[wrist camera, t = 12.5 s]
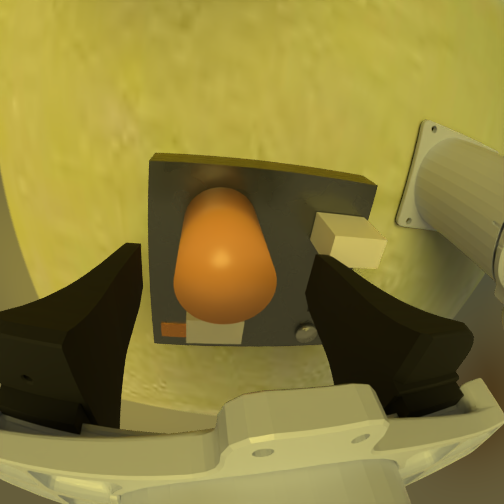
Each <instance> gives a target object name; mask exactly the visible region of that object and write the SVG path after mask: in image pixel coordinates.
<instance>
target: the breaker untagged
mask: <svg viewBox="0 0 504 504" xmlns="http://www.w3.org/2000/svg"><path fill="white" fill-rule="evenodd" d="M310 240H311V242H312V244H313V245H314V247H315V249H316V250H317V252H318V253H319V254H324V255H330V256H332V257H334V258H335V259H337V260H338V261H340V262H341V263H343V264H344V265H346V266H347V267H348V268H370V269H377V268H378V266H379V263H380V260H381V258H382V255H383V252H384V249H385V246H386V243H387V241H388V240H387V239H386V238H385V237H384V236H383V235H382V234H381V233H380V232H379V231H378V230H377V229H376V228H375V227H374V226H373V225H372V224H371V223H370V222H368V221H367V220H366V219H365V218H364V217H357V216H349V215H340V214H331V213H322V212H317V213H316V217H315V221H314V225H313V230H312V234H311V238H310Z"/></svg>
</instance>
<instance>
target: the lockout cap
mask: <svg viewBox="0 0 504 504" xmlns="http://www.w3.org/2000/svg"><path fill="white" fill-rule="evenodd" d="M276 285H277V277H276V272H275V268H274V265H273V262H272V260H271V257H270V254H269V251H268V248H267V245H266V242H265V239H264V236H263V233H262V230H261V227H260V224H259V221H258V218H257V215H256V212H255V209H254V207H253V205H252V203H251V202H250V201H249V199H248V198H247V197H246V196H244V195H243V194H242V193H240V192H238V191H236V190H234V189H231V188H225V187H217V188H211V189H208V190H205V191H203V192H201V193H200V194H198V195H197V196H196V197H195V198H194V199H193V200H192V201H191V202H190V203H189V205H188V207H187V209H186V212H185V216H184V221H183V227H182V232H181V238H180V244H179V250H178V256H177V262H176V268H175V274H174V292H175V295H176V298H177V299H178V301H179V303H180V304H181V306H182V307H183V308H184V309H185V310H186V311H187V312H188V313H190V314H191V315H192V316H194V317H196V318H198V319H200V320H202V321H205V322H209V323H213V324H234V323H239V322H242V321H245V320H248V319H250V318H252V317H254V316H255V315H257V314H258V313H260V312H261V311H262V310H263V309H264V308H265V307H266V306H267V305H268V304H269V302H270V301H271V299H272V298H273V296H274V293H275V290H276Z"/></svg>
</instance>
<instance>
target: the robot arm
mask: <svg viewBox="0 0 504 504" xmlns="http://www.w3.org/2000/svg"><path fill="white" fill-rule="evenodd" d="M432 127H434V130H433V131H432ZM408 218H409V220H408V221H407V222H406V220H407V219H408ZM396 222H397V224H398V225H400V226H403V227H411V228H418V229H426V230H433V231H438V232H439V233H440V234H442V235H443V236H444V237H445V238H447V239H448V240H449V241H450V242H451V243H452V244H454V245H455V246H456V247H457V248H458V249H460V250H461V251H462V252H463V253H464V254H465V255H466V256H468V257H469V258H470V259H471V260H472V261H473V262H474V263H475V264H477V265H478V266H479V267H480V268H481V269H482V270H483V271H484V272H485V273H486V274H487V275H488V276H490V277H491V278H492V279H493V280H494V281H495V282H496V288H495V292H494V296H495V297H496V298H497V299H498V300H499V301H500V302H501V303H502V304H503V305H504V156H502V155H500V154H499V153H498V152H497V151H496V150H494V149H492V148H490V147H488V146H486V145H484V144H482V143H480V142H478V141H476V140H474V139H472V138H470V137H467V136H465V135H463V134H461V133H459V132H456V131H454V130H452V129H450V128H447V127H445V126H443V125H440V124H438V123H435V122H433V121H430V120H424V121H423V122H422V124H421V127H420V132H419V136H418V141H417V145H416V149H415V153H414V157H413V161H412V165H411V169H410V173H409V176H408V180H407V183H406V187H405V190H404V194H403V197H402V201H401V204H400V207H399V210H398V214H397V217H396ZM142 289H143V279H142V261H141V244H138V243H125V244H124V245H123V246H121V247H120V248H119V249H118V250H117V251H115V252H114V253H113V254H112V255H110V256H109V257H108V258H107V259H106V260H104V261H103V262H102V263H101V264H99V265H98V266H97V267H95V268H94V269H92V270H91V271H90V272H88V273H87V274H86V275H84V276H83V277H81V278H80V279H78V280H77V281H75V282H73V283H72V284H70V285H68V286H67V287H65V288H63V289H61V290H59V291H57V292H55V293H53V294H51V295H49V296H46V297H44V298H42V299H39V300H37V301H34V302H31V303H29V304H26V305H23V306H20V307H16V308H12V309H8V310H4V311H1V312H0V383H1V387H0V479H1V480H4V481H6V482H8V483H11V484H13V485H15V486H17V487H20V488H22V489H25V490H27V491H30V492H32V493H35V494H37V495H40V496H43V497H45V498H48V499H51V500H54V501H57V502H60V503H62V504H411V502H410V499H409V496H408V494H407V491H406V489H405V486H406V485H408V484H411V483H413V482H415V481H417V480H419V479H422V478H424V477H425V476H428V475H430V474H432V473H434V472H436V471H438V470H440V469H441V468H443V467H445V466H447V465H449V464H451V463H453V462H455V461H457V460H458V459H460V458H462V457H464V456H466V455H468V454H470V453H471V452H473V451H474V450H475V449H476V448H477V447H478V446H480V445H481V444H482V443H483V442H484V441H485V440H486V439H488V438H489V437H490V436H491V435H492V434H493V433H494V432H495V431H496V430H497V429H499V428H500V427H501V426H502V425H503V424H504V413H503V412H502V410H501V408H500V407H499V405H498V403H497V402H496V400H495V399H494V397H493V396H492V394H491V393H490V391H489V390H488V388H487V386H486V385H485V383H484V382H483V380H482V379H481V378H478V379H475V380H472V381H469V382H466V383H464V384H463V385H461V386H460V387H459V386H458V385H457V383H456V381H457V380H458V379H459V376H458V374H457V373H456V370H457V369H458V367H459V366H460V364H461V363H462V362H463V360H464V359H465V358H466V356H467V355H468V353H469V351H470V350H471V347H472V345H473V340H474V339H473V338H474V336H473V334H472V332H471V331H470V330H469V329H468V327H467V326H466V325H465V324H464V323H462V322H458V321H455V320H451V319H447V318H443V317H440V316H437V315H434V314H431V313H428V312H425V311H423V310H420V309H418V308H415V307H413V306H411V305H409V304H406V303H404V302H402V301H400V300H398V299H397V298H395V297H393V296H391V295H389V294H387V293H386V292H384V291H382V290H381V289H379V288H378V287H376V286H374V285H373V284H371V283H370V282H368V281H367V280H365V279H364V278H363V277H361V276H360V275H358V274H357V273H355V272H354V271H353V270H351V269H350V268H348V267H347V266H346V265H344V264H343V263H341V262H340V261H338V260H337V259H335V258H334V257H332V256H330V255H324V254H316V255H315V258H314V262H313V266H312V269H311V273H310V277H309V280H308V284H307V287H306V291H305V296H306V300H307V305H308V309H309V312H310V315H311V318H312V320H313V323H314V325H315V328H316V330H317V332H318V335H319V337H320V340H321V342H322V345H323V347H324V350H325V352H326V355H327V358H328V361H329V365H330V369H331V373H332V377H333V381H334V385H332V386H322V387H311V388H299V389H283V390H264V391H258V392H252V393H246V394H242V395H240V396H238V397H236V398H234V399H232V400H230V401H228V402H227V403H225V404H224V406H223V407H222V409H221V410H220V412H219V413H218V414H217V423H216V427H215V428H212V429H205V430H198V431H190V432H182V433H171V434H166V433H152V432H142V431H132V430H123V429H120V408H121V394H122V383H123V374H124V366H125V359H126V354H127V349H128V345H129V342H130V338H131V335H132V331H133V328H134V324H135V321H136V317H137V314H138V310H139V307H140V301H141V295H142ZM501 321H502V326H503V329H504V307H503V310H502V316H501Z"/></svg>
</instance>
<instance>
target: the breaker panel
mask: <svg viewBox="0 0 504 504" xmlns="http://www.w3.org/2000/svg"><path fill="white" fill-rule="evenodd" d="M217 187H225V188H231V189H234V190H236V191H238V192H240V193H242V194H243V195H244V196H246V197H247V198H248V199H249V201H250V202H251V203H252V205H253V207H254V209H255V212H256V215H257V218H258V221H259V224H260V227H261V230H262V233H263V236H264V239H265V242H266V245H267V248H268V251H269V254H270V257H271V260H272V262H273V265H274V268H275V272H276V277H277V285H276V290H275V293H274V296H273V298H272V299H271V301H270V302H269V304H268V305H267V306H266V307H265V308H264V309H263V310H262V311H261V312H260V313H258V314H257V315H255V316H254V317H252V318H250V319H248V320H245V321H244V328H243V334H242V340H241V344H204V343H186V315H187V311H186V310H185V309H184V308H183V307H182V306H181V304H180V303H179V301H178V299H177V298H176V295H175V292H174V274H175V268H176V262H177V256H178V250H179V244H180V238H181V232H182V227H183V221H184V216H185V212H186V209H187V207H188V205H189V203H190V202H191V201H192V200H193V199H194V198H195V197H196V196H197V195H198V194H200V193H201V192H203V191H205V190H208V189H211V188H217ZM376 190H377V185H376V184H375V183H373V182H372V181H370V180H369V179H367V178H366V177H364V176H361V175H356V174H350V173H344V172H338V171H332V170H326V169H320V168H313V167H306V166H299V165H292V164H284V163H276V162H268V161H259V160H250V159H240V158H229V157H217V156H204V155H189V154H171V153H155V154H154V155H153V157H152V158H151V159H150V160H149V186H148V246H149V275H150V294H151V309H152V322H153V333H154V343H159V344H176V345H200V346H297V345H320V344H322V342H321V340H320V337H319V335H318V332H317V330H316V328H315V325H314V323H313V320H312V318H311V315H310V312H309V309H308V305H307V300H306V296H305V291H306V287H307V284H308V280H309V277H310V273H311V269H312V266H313V262H314V258H315V255H316V254H319V253H318V252H317V250H316V249H315V247H314V245H313V244H312V242H311V240H310V238H311V234H312V230H313V225H314V221H315V217H316V213H317V212H322V213H331V214H340V215H349V216H357V217H364V218H365V219H366V220H367V221H368V218H369V215H370V212H371V208H372V205H373V201H374V197H375V194H376ZM350 269H351V270H352V269H353V268H350Z"/></svg>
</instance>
